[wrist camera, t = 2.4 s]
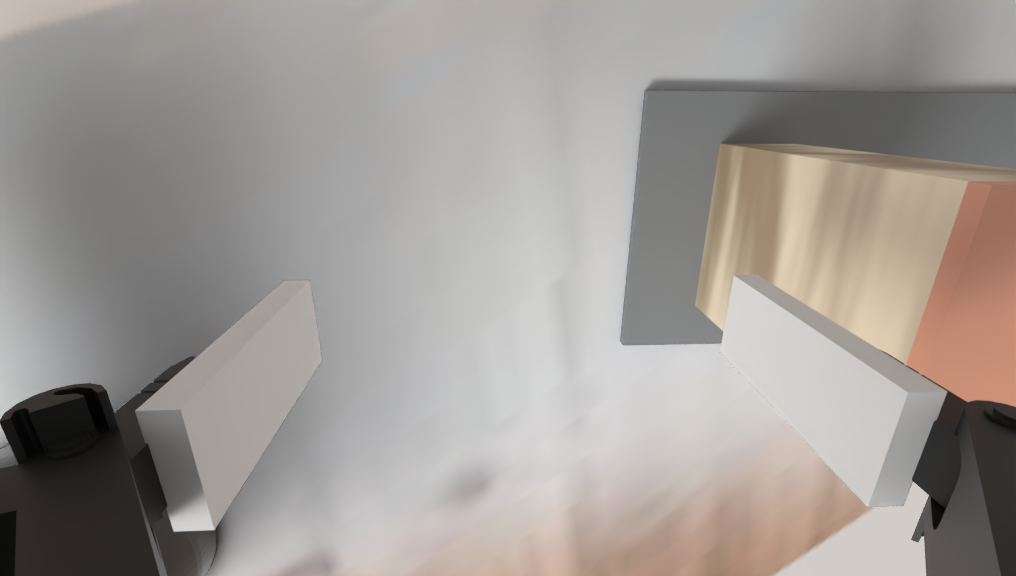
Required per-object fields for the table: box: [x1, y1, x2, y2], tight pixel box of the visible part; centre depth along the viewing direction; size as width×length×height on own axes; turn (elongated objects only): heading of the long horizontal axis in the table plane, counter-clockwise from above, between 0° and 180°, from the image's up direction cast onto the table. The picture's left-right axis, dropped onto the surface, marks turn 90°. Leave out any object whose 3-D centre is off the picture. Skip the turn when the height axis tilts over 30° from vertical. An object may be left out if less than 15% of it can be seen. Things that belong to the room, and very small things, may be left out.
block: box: [695, 144, 1016, 407], centre depth 20 cm, size 4×9×14 cm, turn 0°
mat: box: [620, 90, 1016, 345], centre depth 27 cm, size 26×14×1 cm, turn 90°
